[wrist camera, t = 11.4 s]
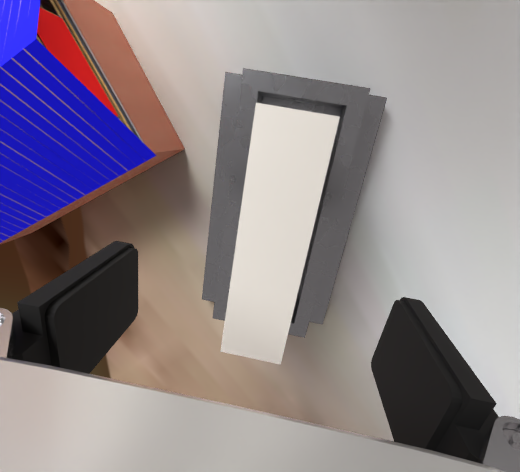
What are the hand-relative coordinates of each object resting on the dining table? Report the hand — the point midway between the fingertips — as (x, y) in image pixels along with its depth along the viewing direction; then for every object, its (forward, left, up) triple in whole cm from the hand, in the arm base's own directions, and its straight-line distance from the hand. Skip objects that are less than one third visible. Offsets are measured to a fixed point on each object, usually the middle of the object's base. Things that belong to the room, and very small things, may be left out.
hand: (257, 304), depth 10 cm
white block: (0, 0, -15) cm, 15 cm away
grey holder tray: (+1, 0, -16) cm, 16 cm away
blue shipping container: (-2, -20, -17) cm, 27 cm away
